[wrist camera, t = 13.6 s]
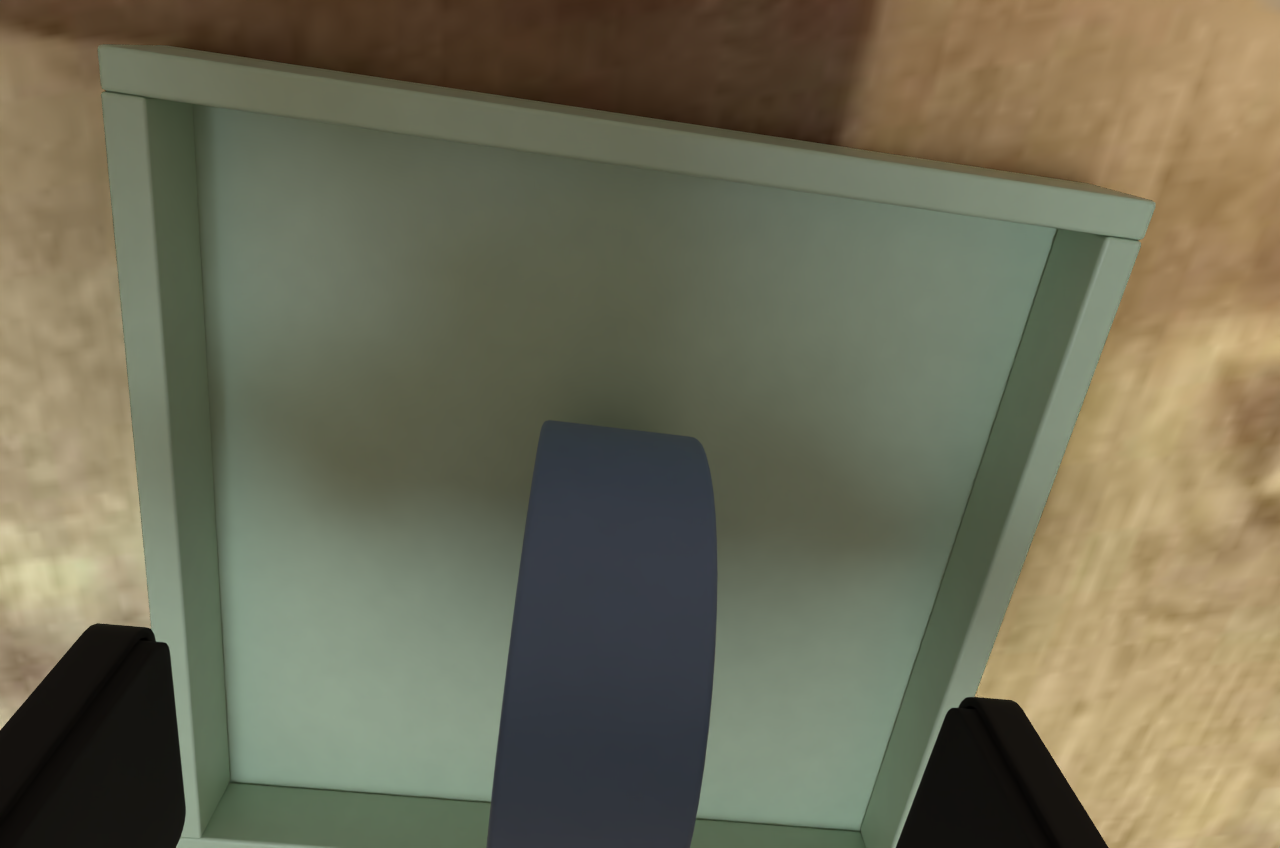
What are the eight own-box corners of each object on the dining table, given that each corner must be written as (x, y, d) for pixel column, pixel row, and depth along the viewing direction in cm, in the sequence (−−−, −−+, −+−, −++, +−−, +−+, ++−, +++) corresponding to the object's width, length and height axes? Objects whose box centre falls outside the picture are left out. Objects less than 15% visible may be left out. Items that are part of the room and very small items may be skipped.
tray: (165, 44, 13) (94, 42, 11) (1090, 183, 15) (1159, 202, 13) (213, 781, 19) (172, 858, 17) (871, 833, 21) (897, 909, 19)
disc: (552, 364, 15) (516, 553, 9) (685, 381, 15) (747, 578, 9) (516, 691, 18) (465, 1037, 11) (632, 702, 18) (651, 1046, 11)
